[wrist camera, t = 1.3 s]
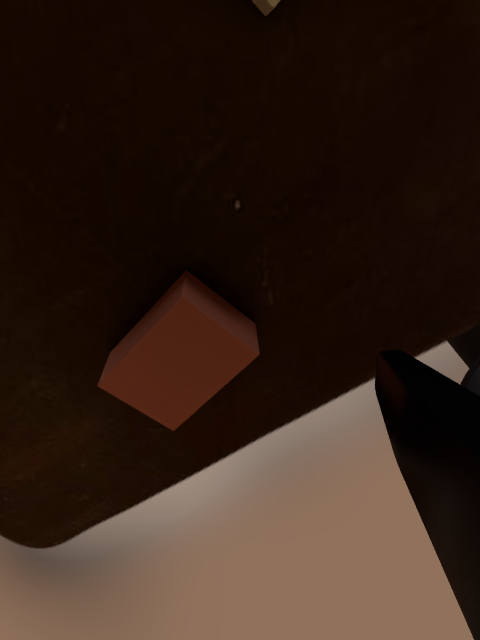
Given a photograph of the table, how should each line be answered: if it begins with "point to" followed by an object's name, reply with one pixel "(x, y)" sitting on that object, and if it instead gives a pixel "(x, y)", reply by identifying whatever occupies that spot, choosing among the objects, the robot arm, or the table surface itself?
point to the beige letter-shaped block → (266, 5)
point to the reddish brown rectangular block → (180, 353)
